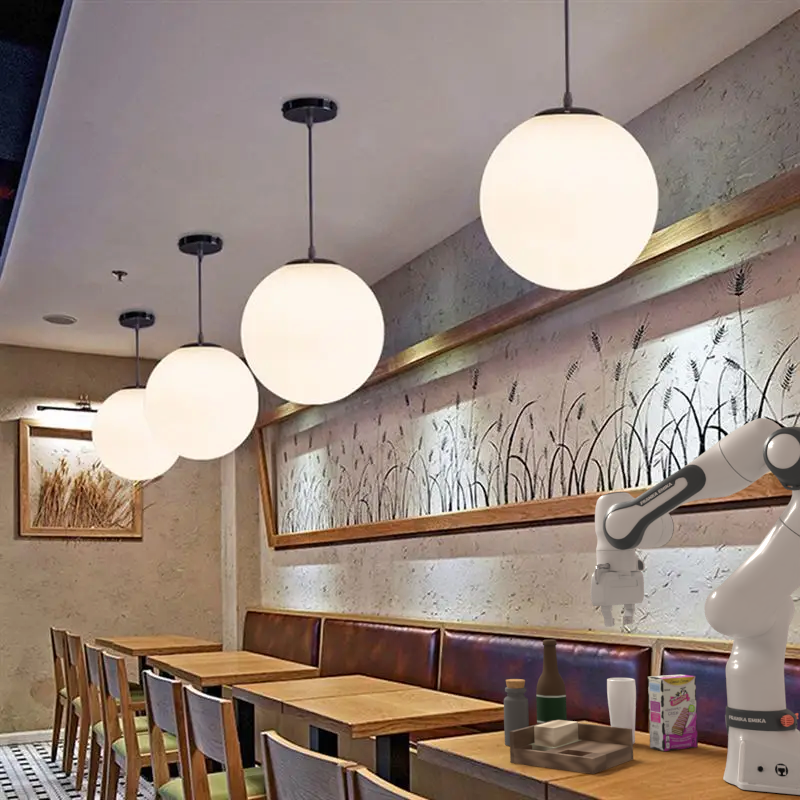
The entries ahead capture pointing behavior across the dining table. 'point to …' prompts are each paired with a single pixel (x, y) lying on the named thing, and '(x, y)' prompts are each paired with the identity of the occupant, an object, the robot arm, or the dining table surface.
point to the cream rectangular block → (556, 733)
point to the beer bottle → (550, 688)
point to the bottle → (515, 707)
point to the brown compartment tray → (575, 749)
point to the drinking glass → (622, 703)
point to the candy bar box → (672, 712)
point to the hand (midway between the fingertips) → (619, 625)
